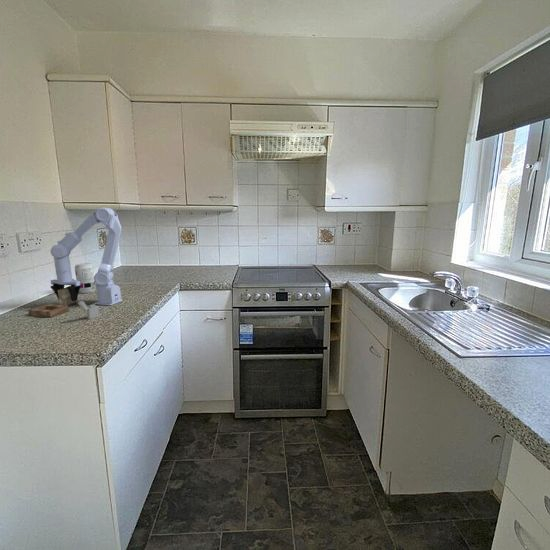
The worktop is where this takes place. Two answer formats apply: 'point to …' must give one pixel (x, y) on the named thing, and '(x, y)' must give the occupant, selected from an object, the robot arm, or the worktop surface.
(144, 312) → the worktop surface
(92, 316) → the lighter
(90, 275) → the supplement can
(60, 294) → the peg
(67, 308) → the holder
